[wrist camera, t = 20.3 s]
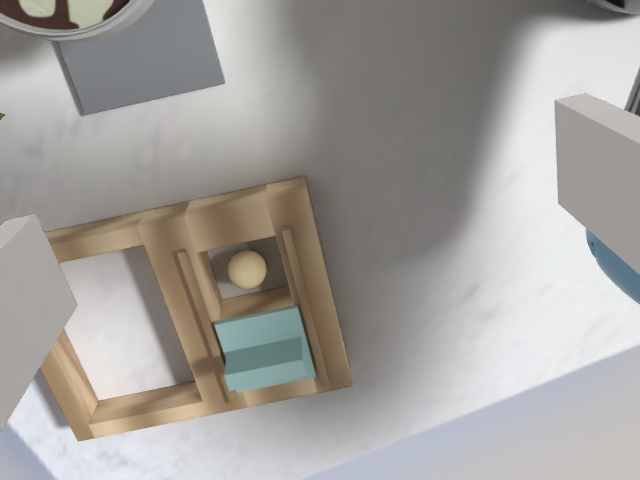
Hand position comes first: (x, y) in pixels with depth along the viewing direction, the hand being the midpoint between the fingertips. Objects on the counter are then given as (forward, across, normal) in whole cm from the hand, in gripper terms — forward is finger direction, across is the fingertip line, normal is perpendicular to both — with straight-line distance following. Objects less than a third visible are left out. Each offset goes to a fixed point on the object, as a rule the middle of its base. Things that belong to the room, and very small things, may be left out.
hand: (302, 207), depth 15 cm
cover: (+26, +7, +21) cm, 34 cm away
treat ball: (+29, +7, +15) cm, 33 cm away
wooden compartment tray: (+29, +13, +18) cm, 36 cm away
